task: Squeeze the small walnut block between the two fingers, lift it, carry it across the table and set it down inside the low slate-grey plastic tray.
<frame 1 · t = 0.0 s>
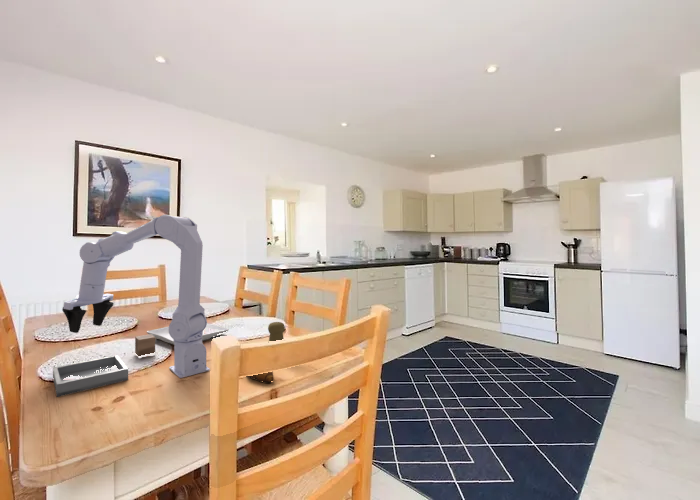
hand: (86, 328, 96), 11 cm above the table, tool pointing down, fingers open, 7 cm apart
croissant: (258, 377, 90), on the table
tray: (90, 379, 86), on the table
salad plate: (188, 338, 124), on the table
cork: (276, 357, 105), on the table
walnut block: (145, 355, 104), on the table
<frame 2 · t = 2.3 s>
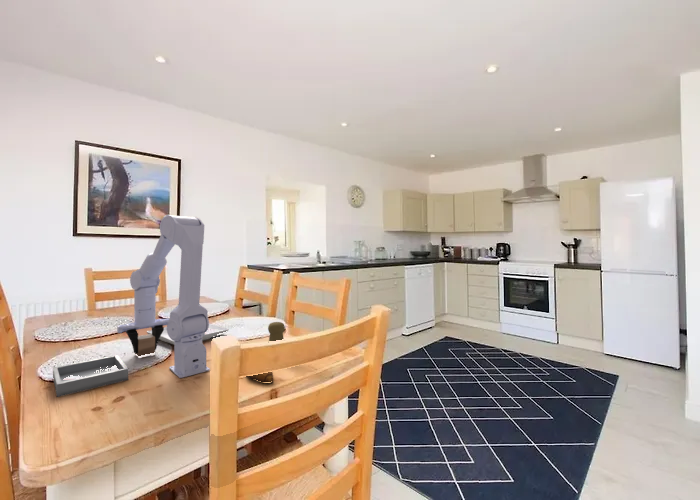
hand: (145, 350, 104), 1 cm above the table, tool pointing down, fingers closed on walnut block, 4 cm apart
walnut block: (145, 355, 104), on the table, touching gripper
everything else where it was.
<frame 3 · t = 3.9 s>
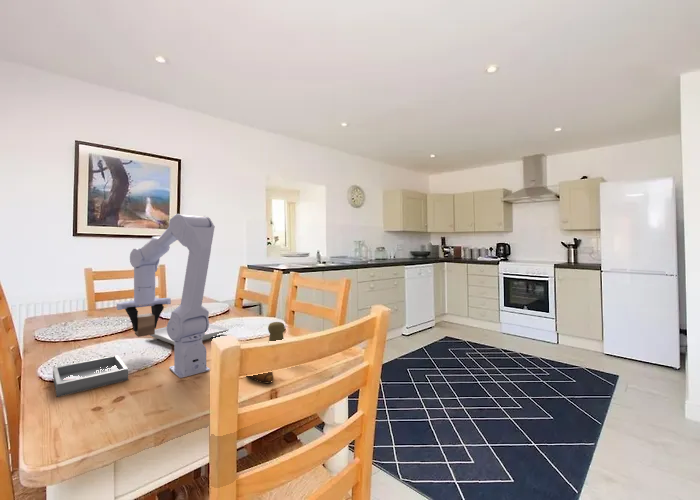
hand: (144, 329, 104), 8 cm above the table, tool pointing down, fingers closed on walnut block, 4 cm apart
walnut block: (144, 334, 104), point 7 cm above the table, touching gripper
everything else where it was.
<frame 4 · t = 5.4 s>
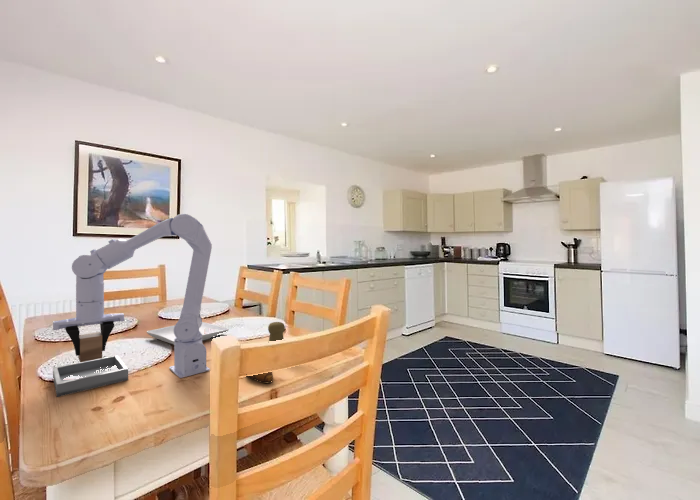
hand: (90, 352, 86), 7 cm above the table, tool pointing down, fingers closed on walnut block, 4 cm apart
walnut block: (90, 357, 86), point 6 cm above the table, touching gripper
everything else where it was.
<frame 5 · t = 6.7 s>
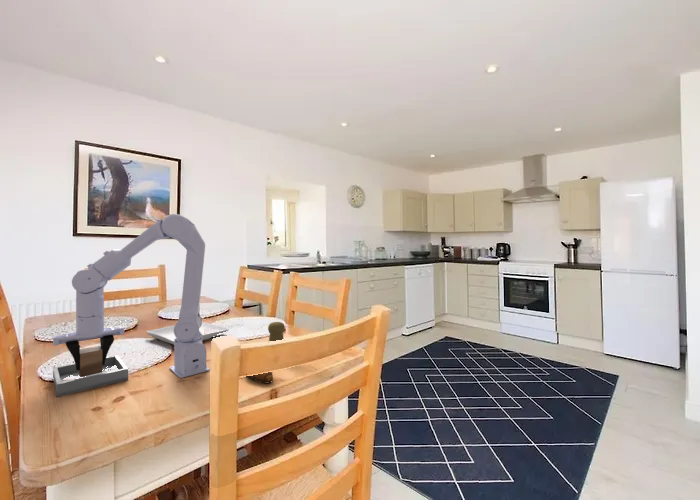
hand: (90, 366, 86), 3 cm above the table, tool pointing down, fingers closed on walnut block, 4 cm apart
walnut block: (90, 372, 86), point 2 cm above the table, touching gripper
everything else where it was.
when the fingers open (3 cm above the table, at t = 6.9 s): walnut block drops 1 cm, resting on tray.
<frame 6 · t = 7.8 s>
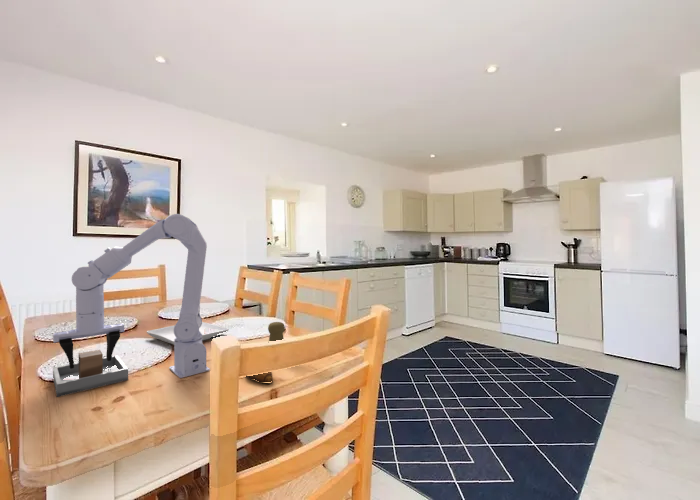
hand: (90, 363, 86), 4 cm above the table, tool pointing down, fingers open, 7 cm apart
walnut block: (90, 376, 86), point 1 cm above the table, touching tray
everything else where it was.
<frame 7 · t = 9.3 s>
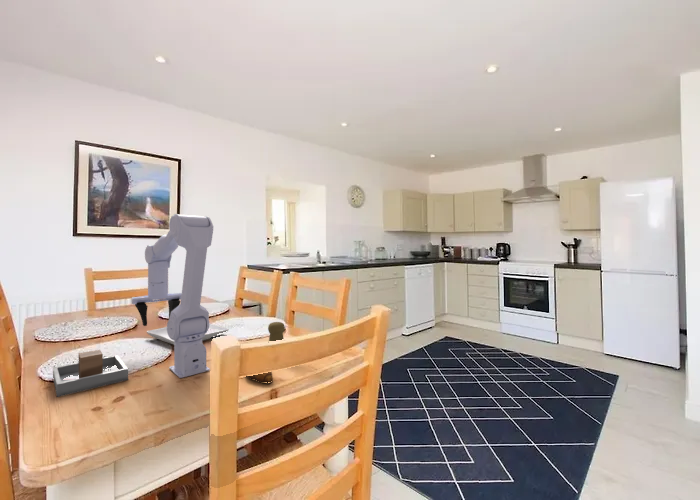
hand: (158, 323, 108), 9 cm above the table, tool pointing down, fingers open, 7 cm apart
nothing on the table moved.
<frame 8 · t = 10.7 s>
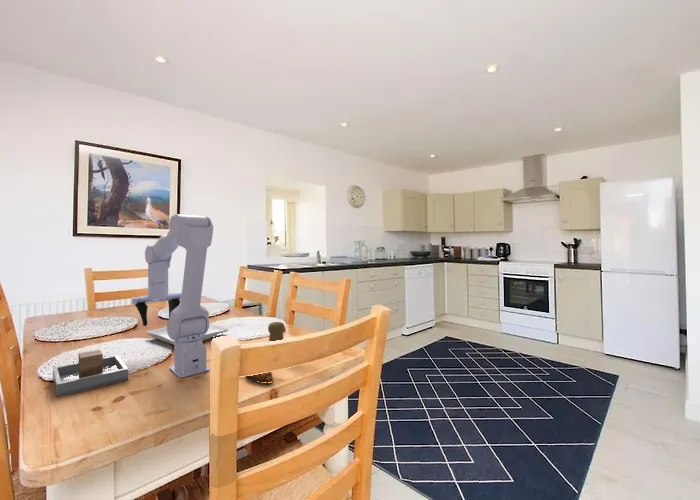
hand: (158, 323, 108), 9 cm above the table, tool pointing down, fingers open, 7 cm apart
nothing on the table moved.
at the end: walnut block inside the target area on the tray (0.1 cm from its centre), point 0.8 cm above the tray's base; walnut block tilted 0°; the gripper is holding nothing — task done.
